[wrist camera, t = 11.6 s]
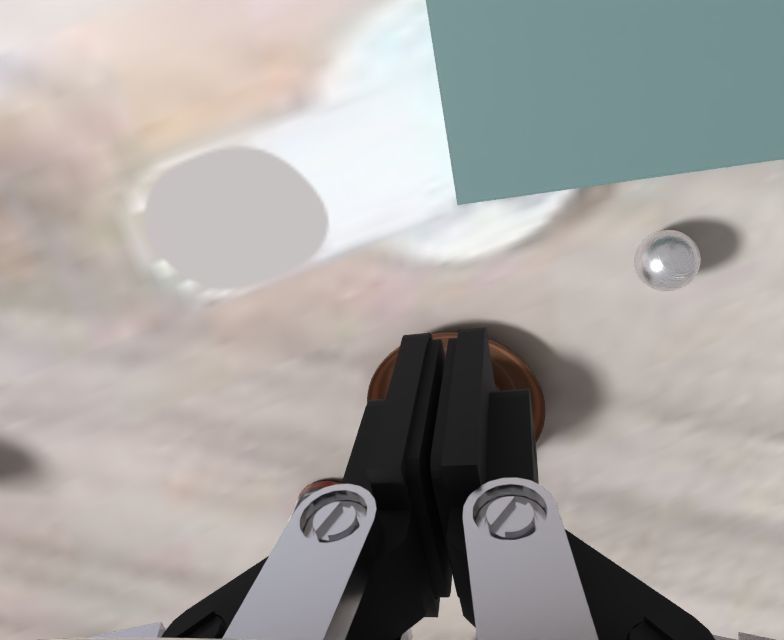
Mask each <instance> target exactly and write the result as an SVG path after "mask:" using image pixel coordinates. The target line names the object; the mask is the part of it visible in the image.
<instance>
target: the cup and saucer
mask: <svg viewBox="0 0 784 640" xmlns="http://www.w3.org/2000/svg"><path fill="white" fill-rule="evenodd" d="M431 335H432V338H433V340H434V339H441V340H442V342H443V347H444V352H445V357H446V351H447V345H448V339H449V338H456V337H457V335H458V333H456V332H446V333H436V334H431ZM488 342H489V349H490V355H491V362H492V369H493V376H494V383H495V389H496V391H503V390H517V389H529V390H530V397H531V405H532V413H533V422H534V432H535V442H537V440H538V438H539V436H540V434H541V432H542V429H543V425H544V420H545V402H544V397H543V393H542V390H541V388H540V385H539V383H538V381H537V379H536V377H535V376H534V374H533V373H532V371H531V370H530V369H529V367H528V366H527V365H526V364H525V363H524V362H523V361H522V360H521V359H520V358H519V357H518V356H517V355H516V354H514V353H513V352H512V351H510V350H509V349H507V348H506V347H504V346H502V345H500V344H498V343H496V342H494V341H492V340H489V339H488ZM399 349H400V347H398V348H397V349H395V350H394V351H393V352H391V353H390V354H389V355H388V356H387V357H386V358H385V359H384V361H383V362H382V363H381V364H380V365H379V367H378V368H377V370H376V371H375V373H374V375H373V377H372V379H371V382H370V385H369V389H368V395H367V403H368V401H370V400H374V399H386V396H387V392H388V388H389V385H390V381H391V378H392V374H393V370H394V367H395V363H396V359H397V356H398V352H399Z"/></svg>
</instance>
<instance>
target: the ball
mask: <svg viewBox="0 0 784 640" xmlns="http://www.w3.org/2000/svg"><path fill="white" fill-rule="evenodd" d="M700 264H701V255H700V251H699V248H698V246H697V244H696V243H695V242H694V240H693V239H692V238H690V237H689V236H688V235H686V234H684V233H682V232H679V231H676V230H662V231H658V232H655V233H653V234H651V235H649V236H648V237H647V238H645V239H644V240H643V241H642V242H641V244H640V245H639V247H638V248H637V250H636V253H635V258H634V266H635V270H636V273H637V275H638V276H639V278H640V279H641V280H642V282H644V283H645V284H646V285H647V286H649V287H651V288H653V289H656V290H660V291H673V290H677V289H680V288H682V287H684V286H686V285H687V284H689V283H690V282H691V281H692V280H693V279H694V278H695V276H696V275H697V273H698V271H699V268H700Z"/></svg>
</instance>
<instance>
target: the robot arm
mask: <svg viewBox="0 0 784 640" xmlns="http://www.w3.org/2000/svg"><path fill="white" fill-rule="evenodd" d="M452 574H453V578H454V583H455V587H456V592H457V596H458V597H459V598H460V603H461V607H462V612H463V616H464V617H465V618H466V619H467V620H468V621H469V622H470V623H471V624H472V625H473V626H474V627H475V628H476V634H477V640H735V639H730V638H726V637H721V636H716V635H712V634H711V632H710V631H709V630H708V629H707V628H706V627H705V626H704V625H703V624H701V623H700V622H699V621H698V620H697V619H696V618H695V617H693V616H692V615H690V614H689V613H687V612H686V611H684V610H683V609H681V608H680V607H679V606H677V605H676V604H674V603H673V602H671V601H670V600H668V599H667V598H665V597H664V596H662V595H661V594H659V593H658V592H656V591H655V590H654V589H652V588H651V587H649V586H648V585H646V584H645V583H643V582H642V581H640V580H639V579H637V578H636V577H634V576H633V575H632V574H630V573H629V572H627V571H626V570H624V569H623V568H621V567H620V566H618V565H617V564H615V563H614V562H612V561H611V560H609V559H608V558H607V557H605V556H604V555H602V554H601V553H599V552H598V551H596V550H595V549H593V548H592V547H590V546H589V545H587V544H586V543H584V542H583V541H582V540H580V539H579V538H577V537H576V536H574V535H573V534H571V533H570V532H568V531H567V530H565V529H564V526H563V522H562V519H561V516H560V512H559V509H558V506H557V503H556V501H555V500H554V498H553V496H552V494H551V493H550V492H549V491H547V490H546V489H545V488H544V487H543V486H542V485H539V482H538V467H537V453H536V442H535V432H534V422H533V413H532V405H531V397H530V390H529V389H517V390H503V391H496V389H495V383H494V376H493V369H492V362H491V355H490V349H489V342H488V335H487V330H486V328H477V329H466V330H458V335H457V337H456V338H449V339H448V345H447V351H446V357H445V352H444V347H443V342H442V340H441V339H434V340H433V338H432V335H431V333H423V334H413V335H404V336H403V338H402V341H401V345H400V349H399V352H398V356H397V359H396V363H395V367H394V370H393V374H392V378H391V381H390V385H389V388H388V392H387V396H386V399H374V400H370V401H368V403H367V405H366V408H365V411H364V414H363V418H362V421H361V424H360V427H359V430H358V433H357V437H356V440H355V443H354V446H353V449H352V452H351V456H350V459H349V462H348V465H347V468H346V471H345V475H344V478H343V481H342V484H336V485H332V486H328V487H325V488H322V489H320V490H318V491H316V492H314V493H312V494H311V495H310V496H309V497H307V498H306V499H305V500H304V501H302V502H301V504H300V505H299V506H298V508H297V509H296V510H295V511H294V513H293V515H292V517H291V518H290V520H289V522H288V524H287V526H286V527H285V529H284V531H283V533H282V534H281V536H280V538H279V540H278V541H277V543H276V545H275V547H274V548H273V550H272V552H271V554H270V555H269V556H268V557H267V558H265V559H264V560H262V561H261V562H259V563H258V564H256V565H254V566H253V567H251V568H250V569H248V570H247V571H245V572H244V573H242V574H241V575H239V576H238V577H236V578H235V579H233V580H232V581H230V582H229V583H227V584H226V585H224V586H223V587H221V588H220V589H218V590H217V591H215V592H214V593H212V594H210V595H209V596H207V597H206V598H204V599H203V600H201V601H200V602H198V603H197V604H195V605H194V606H192V607H191V608H189V609H188V610H186V611H185V612H184V613H183V614H181V615H180V616H179V617H178V618H176V619H175V620H174V621H173V622H172V623H171V624H170V626H169V627H168V628H165V627H164V626H163V624H162V622H158V623H153V624H148V625H143V626H139V627H134V628H129V629H124V630H119V631H115V632H110V633H105V634H100V635H96V636H91V637H86V638H61V639H39V640H412V637H413V635H412V630H411V627H412V626H413V625H415V624H416V623H417V622H418V621H420V620H421V619H422V618H423V617H438V612H439V602H440V597H450V593H451V583H452ZM738 640H774V639H770V638H765V637H760V636H755V635H751V634H746V633H741V632H739V633H738Z"/></svg>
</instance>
